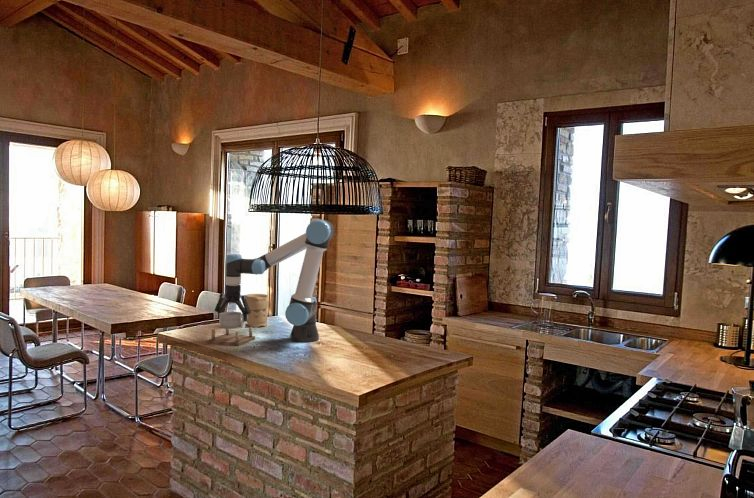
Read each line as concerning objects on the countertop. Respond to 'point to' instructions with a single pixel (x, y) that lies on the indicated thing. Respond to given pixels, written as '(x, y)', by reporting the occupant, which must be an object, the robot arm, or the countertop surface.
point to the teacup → (230, 319)
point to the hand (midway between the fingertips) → (232, 326)
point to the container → (257, 310)
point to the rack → (231, 338)
